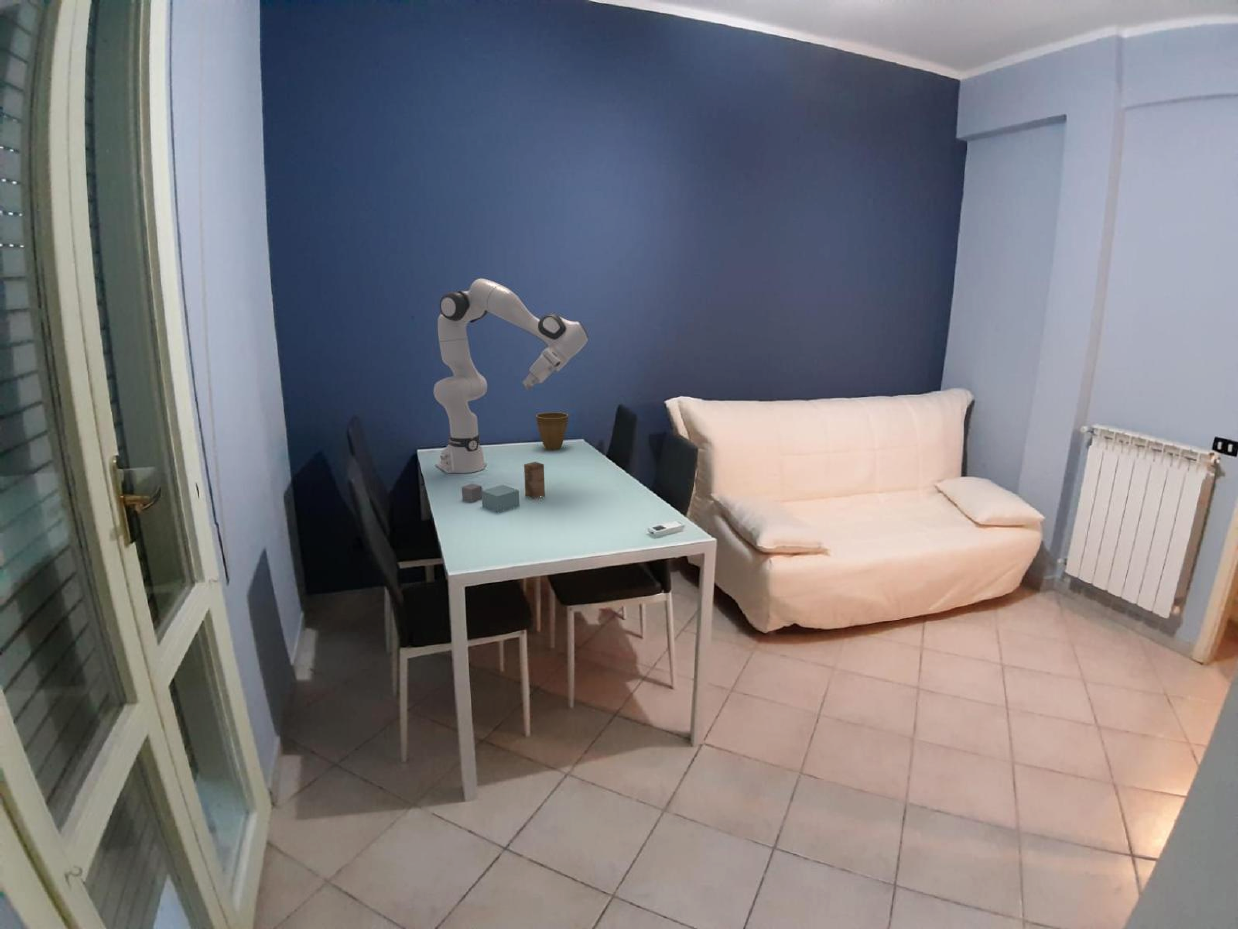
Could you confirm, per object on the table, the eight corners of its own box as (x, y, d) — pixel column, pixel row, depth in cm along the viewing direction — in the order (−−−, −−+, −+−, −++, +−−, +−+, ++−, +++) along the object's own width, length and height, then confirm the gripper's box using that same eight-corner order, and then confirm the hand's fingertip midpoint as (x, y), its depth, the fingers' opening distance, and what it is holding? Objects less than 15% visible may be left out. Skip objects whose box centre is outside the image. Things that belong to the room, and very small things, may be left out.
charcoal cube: (462, 500, 218) (461, 487, 216) (472, 496, 222) (472, 483, 220) (472, 503, 215) (471, 489, 213) (482, 499, 219) (481, 485, 217)
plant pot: (571, 451, 283) (571, 417, 279) (539, 453, 279) (538, 419, 275) (565, 443, 297) (564, 411, 292) (535, 445, 293) (533, 412, 288)
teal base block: (482, 506, 211) (481, 490, 210) (503, 500, 218) (502, 484, 216) (498, 513, 206) (497, 496, 204) (519, 506, 212) (518, 490, 210)
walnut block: (525, 496, 222) (524, 464, 219) (536, 492, 225) (535, 461, 222) (533, 499, 219) (532, 467, 215) (544, 496, 222) (543, 464, 219)
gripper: (548, 358, 230) (521, 384, 229) (544, 347, 210) (516, 375, 209) (559, 370, 230) (533, 396, 229) (557, 360, 210) (529, 389, 209)
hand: (525, 386), depth 219 cm, fingers open, 8 cm apart
